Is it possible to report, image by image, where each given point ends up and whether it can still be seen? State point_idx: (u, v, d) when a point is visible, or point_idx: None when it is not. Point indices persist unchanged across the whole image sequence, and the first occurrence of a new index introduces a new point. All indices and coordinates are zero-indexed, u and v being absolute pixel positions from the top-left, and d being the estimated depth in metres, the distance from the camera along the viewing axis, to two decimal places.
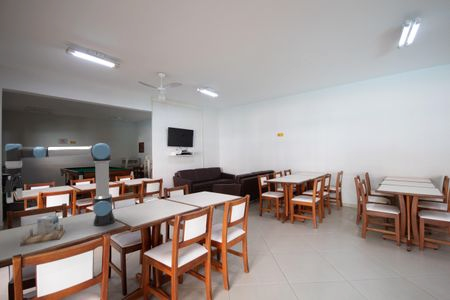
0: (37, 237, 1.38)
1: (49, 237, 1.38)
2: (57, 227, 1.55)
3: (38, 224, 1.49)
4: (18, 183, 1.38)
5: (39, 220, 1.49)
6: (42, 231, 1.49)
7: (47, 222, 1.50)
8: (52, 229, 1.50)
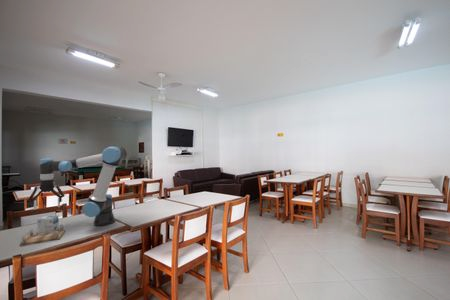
0: (37, 237, 1.38)
1: (49, 237, 1.38)
2: (57, 227, 1.55)
3: (38, 224, 1.49)
4: None
5: (39, 220, 1.49)
6: (42, 231, 1.49)
7: (47, 222, 1.50)
8: (52, 229, 1.50)
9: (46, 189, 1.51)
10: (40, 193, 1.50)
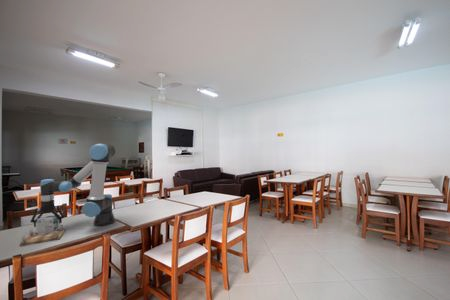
0: (37, 237, 1.38)
1: (49, 237, 1.38)
2: (57, 227, 1.55)
3: (38, 224, 1.49)
4: None
5: (39, 220, 1.49)
6: (42, 231, 1.49)
7: (47, 222, 1.50)
8: (52, 229, 1.50)
9: (47, 210, 1.51)
10: (41, 214, 1.50)
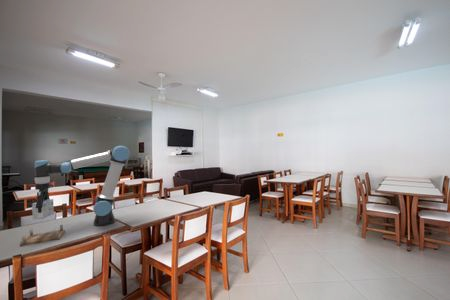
0: (37, 237, 1.38)
1: (49, 237, 1.38)
2: None
3: (44, 208, 1.36)
4: (45, 198, 1.44)
5: (45, 203, 1.37)
6: (46, 215, 1.39)
7: (50, 205, 1.42)
8: (53, 211, 1.45)
9: None
10: (43, 198, 1.38)
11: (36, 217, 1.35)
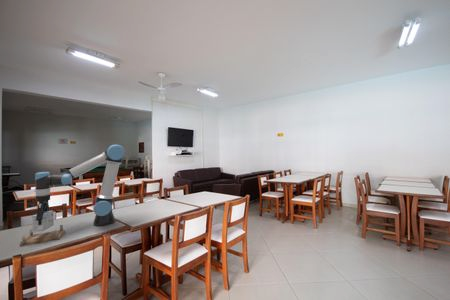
0: (37, 237, 1.38)
1: (49, 237, 1.38)
2: None
3: (44, 220, 1.36)
4: (45, 209, 1.44)
5: (45, 216, 1.37)
6: (46, 227, 1.39)
7: (50, 216, 1.42)
8: (53, 222, 1.45)
9: None
10: (43, 210, 1.38)
11: (36, 229, 1.35)
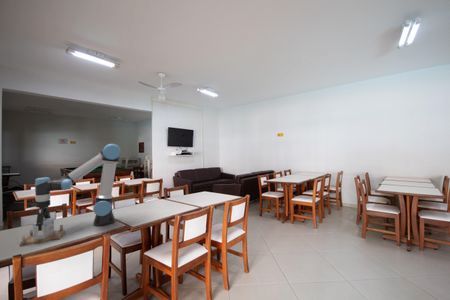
0: None
1: (49, 237, 1.38)
2: None
3: (44, 228, 1.37)
4: (46, 214, 1.44)
5: (45, 223, 1.37)
6: (47, 234, 1.39)
7: (50, 224, 1.42)
8: (53, 229, 1.45)
9: None
10: (44, 216, 1.38)
11: (37, 237, 1.35)
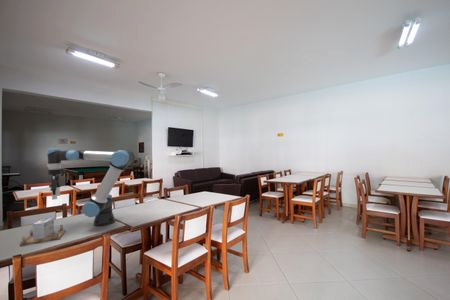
0: None
1: (49, 237, 1.38)
2: None
3: (44, 228, 1.37)
4: (57, 182, 1.57)
5: (45, 223, 1.37)
6: (47, 234, 1.39)
7: (50, 224, 1.42)
8: (53, 229, 1.45)
9: None
10: (56, 182, 1.51)
11: (37, 237, 1.35)
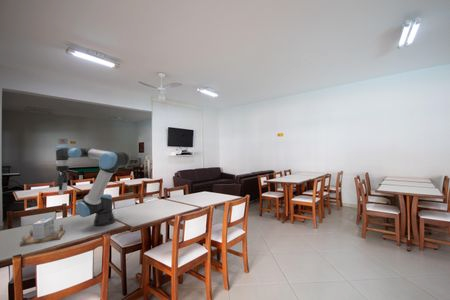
0: None
1: (49, 237, 1.38)
2: None
3: (44, 228, 1.37)
4: (64, 178, 1.66)
5: (45, 223, 1.37)
6: (47, 234, 1.39)
7: (50, 224, 1.42)
8: (53, 229, 1.45)
9: None
10: (63, 178, 1.60)
11: (37, 237, 1.35)
